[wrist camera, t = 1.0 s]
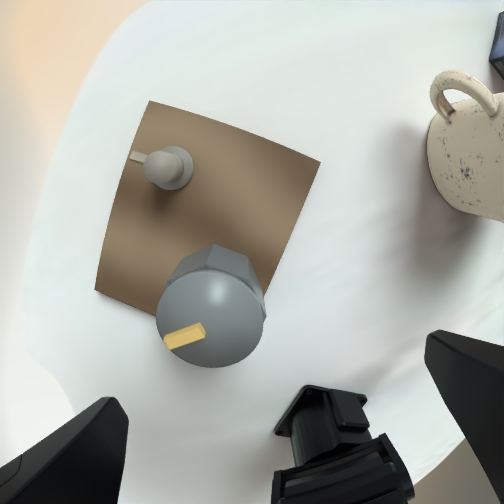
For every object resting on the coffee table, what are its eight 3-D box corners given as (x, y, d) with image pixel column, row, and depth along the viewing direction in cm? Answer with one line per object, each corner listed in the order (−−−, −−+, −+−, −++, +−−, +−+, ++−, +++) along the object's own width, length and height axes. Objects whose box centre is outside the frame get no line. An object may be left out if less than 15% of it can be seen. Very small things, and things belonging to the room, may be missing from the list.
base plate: (241, 339, 20) (241, 372, 16) (99, 285, 19) (74, 307, 15) (317, 162, 17) (336, 160, 13) (153, 103, 16) (132, 87, 12)
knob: (237, 233, 17) (235, 259, 12) (270, 306, 19) (280, 353, 13) (161, 267, 18) (133, 302, 13) (199, 334, 19) (187, 384, 14)
